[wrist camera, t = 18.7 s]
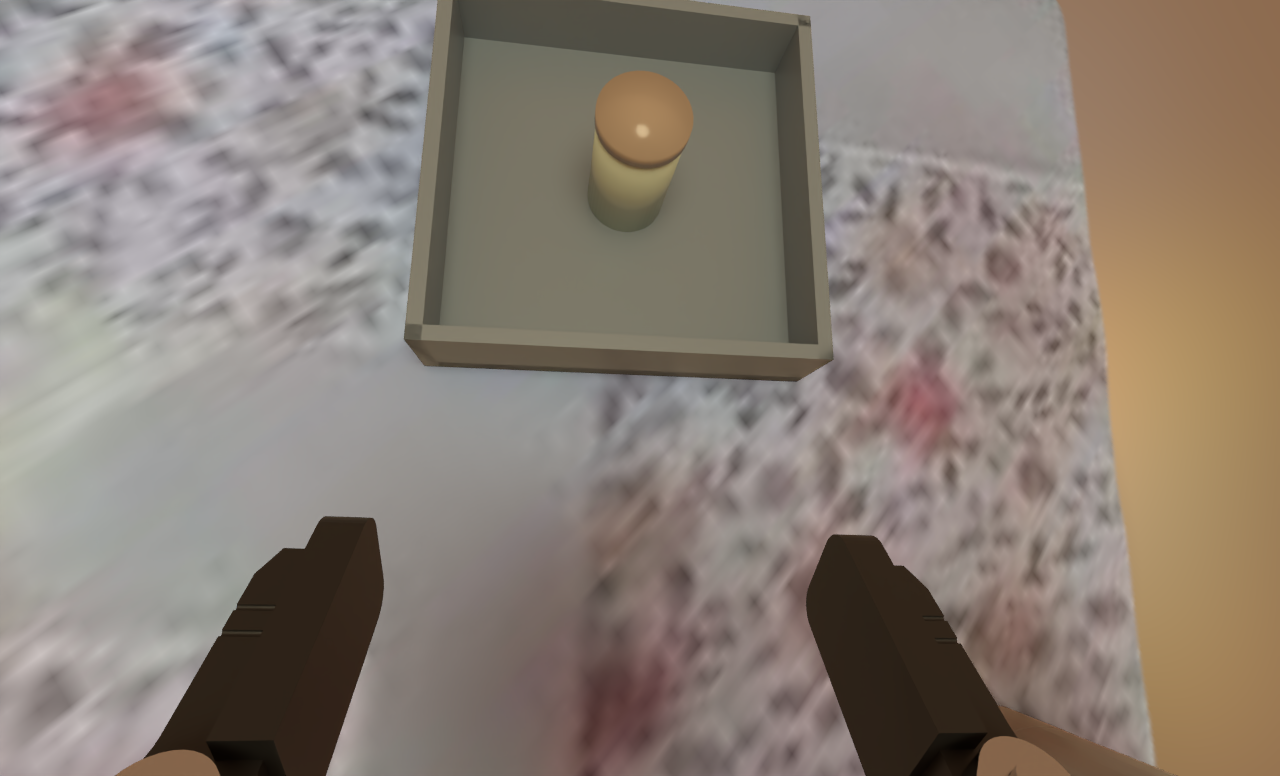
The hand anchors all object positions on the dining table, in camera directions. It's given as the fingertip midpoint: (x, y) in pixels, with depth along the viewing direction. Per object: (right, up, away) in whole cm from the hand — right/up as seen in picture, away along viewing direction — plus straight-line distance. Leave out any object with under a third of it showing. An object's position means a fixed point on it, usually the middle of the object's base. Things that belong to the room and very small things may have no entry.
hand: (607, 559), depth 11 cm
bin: (-1, +15, +27) cm, 31 cm away
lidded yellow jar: (0, +15, +26) cm, 30 cm away
